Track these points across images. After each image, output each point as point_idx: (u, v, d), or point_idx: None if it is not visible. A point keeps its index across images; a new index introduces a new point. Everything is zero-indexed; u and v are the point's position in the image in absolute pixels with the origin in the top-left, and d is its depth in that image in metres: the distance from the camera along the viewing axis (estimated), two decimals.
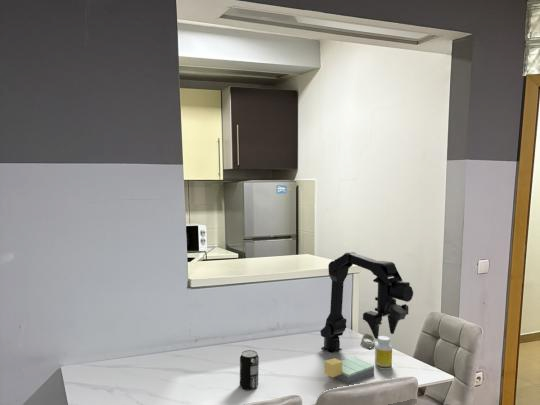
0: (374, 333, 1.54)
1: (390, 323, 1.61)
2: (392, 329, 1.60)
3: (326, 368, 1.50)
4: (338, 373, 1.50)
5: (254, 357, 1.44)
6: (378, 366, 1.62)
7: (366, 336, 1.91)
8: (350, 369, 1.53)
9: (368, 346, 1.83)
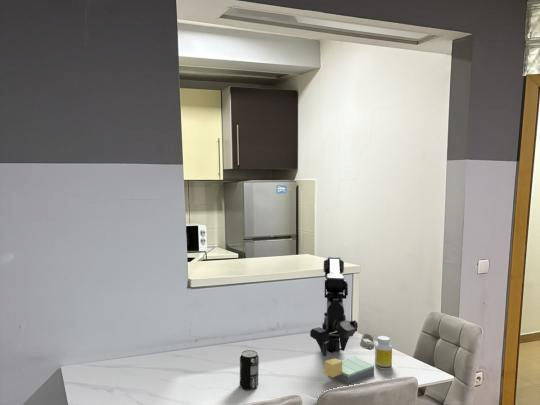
0: (322, 350, 1.48)
1: (341, 339, 1.54)
2: (343, 346, 1.53)
3: (326, 368, 1.50)
4: (338, 373, 1.50)
5: (254, 357, 1.44)
6: (378, 366, 1.62)
7: (365, 336, 1.91)
8: (350, 369, 1.53)
9: (368, 346, 1.83)
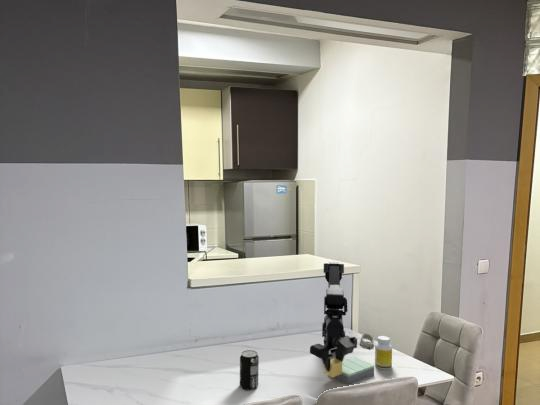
0: (326, 366, 1.49)
1: (337, 356, 1.53)
2: None
3: None
4: (338, 373, 1.50)
5: (254, 357, 1.44)
6: (378, 366, 1.62)
7: (365, 336, 1.91)
8: (350, 369, 1.53)
9: (367, 346, 1.83)
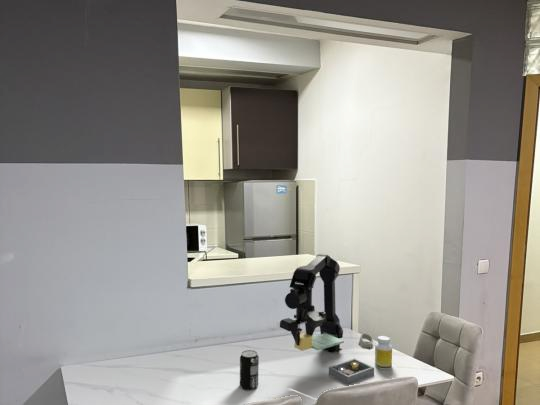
0: (295, 340, 1.52)
1: (307, 331, 1.56)
2: None
3: None
4: (308, 347, 1.53)
5: (254, 357, 1.44)
6: (378, 366, 1.62)
7: (364, 336, 1.91)
8: (320, 344, 1.56)
9: (367, 346, 1.83)
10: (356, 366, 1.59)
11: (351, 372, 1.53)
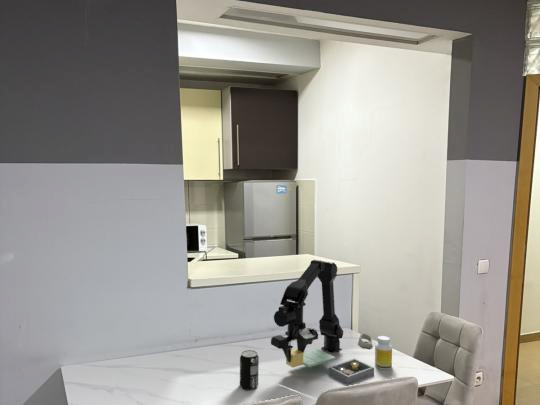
0: (287, 356, 1.54)
1: (298, 348, 1.58)
2: None
3: None
4: (299, 364, 1.55)
5: (254, 357, 1.44)
6: (378, 366, 1.62)
7: (363, 336, 1.92)
8: (311, 360, 1.58)
9: (366, 346, 1.83)
10: (356, 366, 1.59)
11: (351, 372, 1.53)
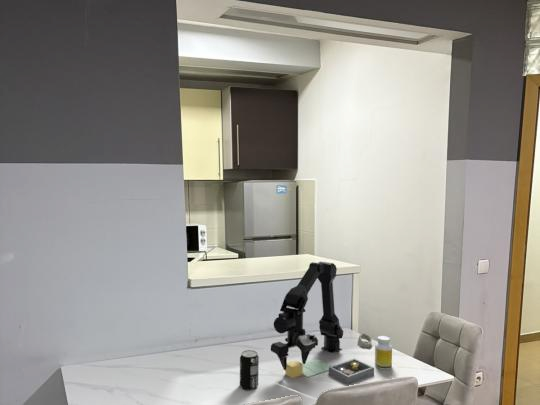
0: (282, 364, 1.53)
1: (302, 353, 1.59)
2: (304, 359, 1.58)
3: (287, 370, 1.55)
4: (298, 375, 1.55)
5: (254, 357, 1.44)
6: (378, 366, 1.62)
7: (362, 336, 1.92)
8: (311, 371, 1.58)
9: (366, 346, 1.83)
10: (356, 366, 1.59)
11: (351, 372, 1.53)
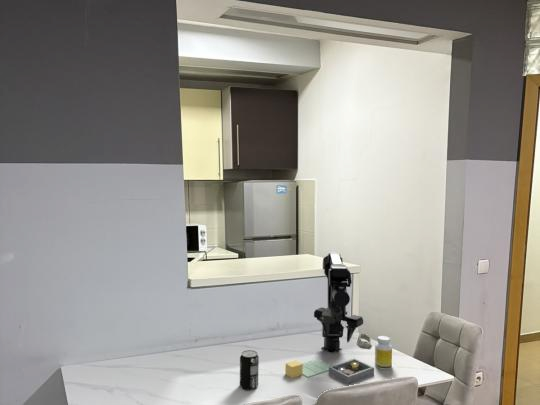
0: None
1: None
2: None
3: (287, 370, 1.55)
4: (298, 375, 1.55)
5: (254, 357, 1.44)
6: (378, 366, 1.62)
7: (361, 336, 1.92)
8: (311, 371, 1.58)
9: (365, 346, 1.83)
10: (356, 366, 1.59)
11: (351, 372, 1.53)
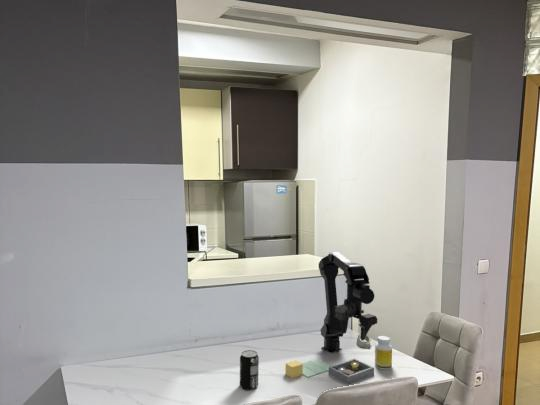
0: None
1: None
2: None
3: (287, 370, 1.55)
4: (298, 375, 1.55)
5: (254, 357, 1.44)
6: (378, 366, 1.62)
7: None
8: (311, 371, 1.58)
9: (365, 346, 1.83)
10: (356, 366, 1.59)
11: (351, 372, 1.53)
